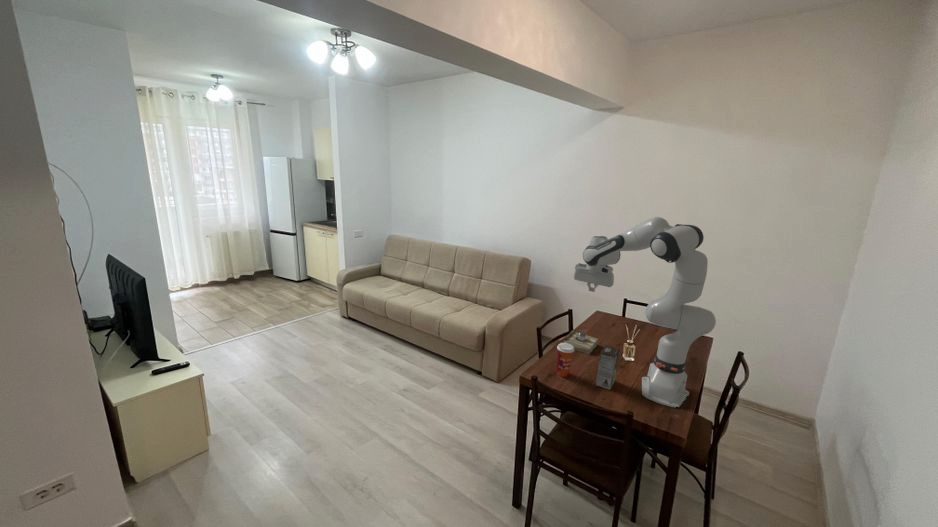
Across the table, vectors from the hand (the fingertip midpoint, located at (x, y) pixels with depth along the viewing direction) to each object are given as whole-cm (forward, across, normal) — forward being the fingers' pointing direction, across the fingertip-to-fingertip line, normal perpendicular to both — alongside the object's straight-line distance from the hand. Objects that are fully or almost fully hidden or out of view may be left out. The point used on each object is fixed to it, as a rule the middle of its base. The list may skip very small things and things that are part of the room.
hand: (591, 291), depth 198 cm
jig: (+29, 0, -7) cm, 30 cm away
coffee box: (+29, +21, -36) cm, 51 cm away
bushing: (+29, 0, -7) cm, 30 cm away
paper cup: (+29, +3, -41) cm, 51 cm away
